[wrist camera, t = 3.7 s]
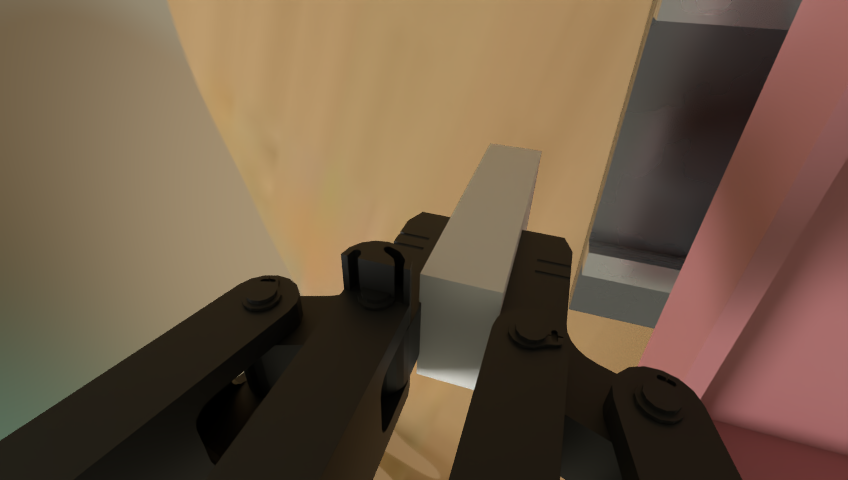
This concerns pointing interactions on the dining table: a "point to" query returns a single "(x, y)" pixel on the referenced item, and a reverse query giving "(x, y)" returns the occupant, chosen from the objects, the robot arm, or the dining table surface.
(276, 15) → the dining table surface
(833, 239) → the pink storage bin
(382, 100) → the dining table surface
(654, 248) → the track
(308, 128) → the dining table surface
